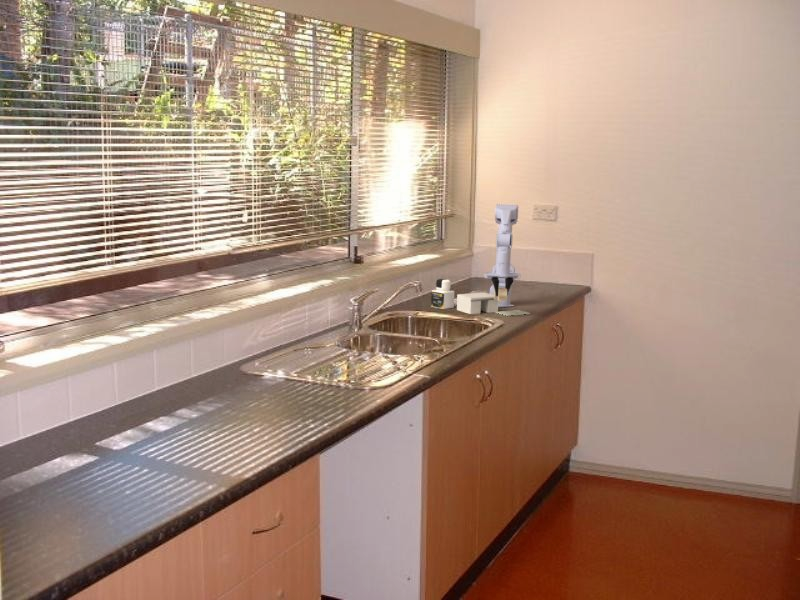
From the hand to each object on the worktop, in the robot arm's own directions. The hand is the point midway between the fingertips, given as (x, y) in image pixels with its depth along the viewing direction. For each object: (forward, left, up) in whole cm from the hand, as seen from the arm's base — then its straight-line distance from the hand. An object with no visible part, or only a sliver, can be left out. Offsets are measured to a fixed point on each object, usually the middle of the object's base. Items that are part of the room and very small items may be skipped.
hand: (501, 295), depth 387 cm
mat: (-2, +8, -8) cm, 12 cm away
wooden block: (-1, +1, -2) cm, 3 cm away
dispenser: (-12, -3, -8) cm, 15 cm away
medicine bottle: (-25, -12, -9) cm, 29 cm away
